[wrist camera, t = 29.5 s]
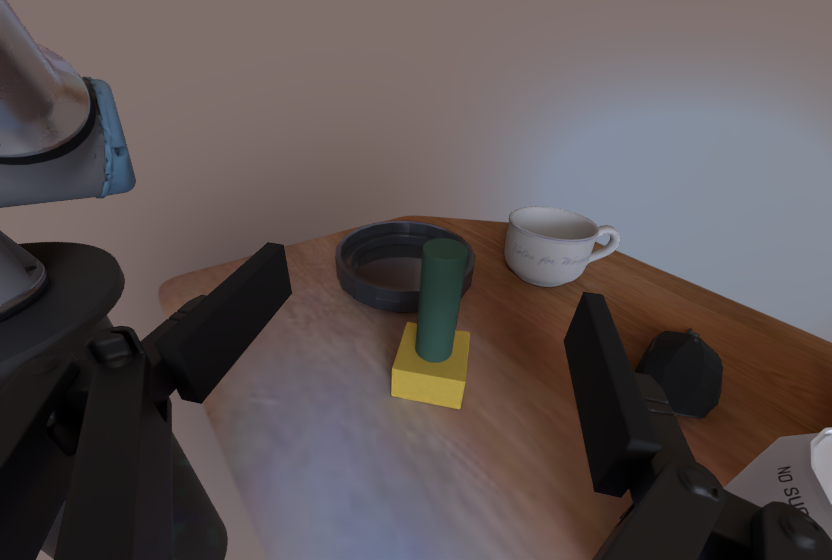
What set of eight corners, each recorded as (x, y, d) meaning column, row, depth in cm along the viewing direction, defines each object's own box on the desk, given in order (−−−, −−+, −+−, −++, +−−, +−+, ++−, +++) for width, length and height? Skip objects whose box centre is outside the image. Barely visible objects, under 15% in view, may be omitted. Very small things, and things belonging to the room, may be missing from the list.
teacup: (495, 287, 46) (507, 230, 41) (500, 248, 54) (511, 197, 50) (612, 310, 43) (639, 252, 38) (598, 264, 52) (619, 213, 47)
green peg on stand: (390, 396, 31) (394, 263, 23) (405, 347, 36) (412, 225, 28) (460, 409, 30) (486, 277, 23) (465, 358, 35) (488, 235, 28)
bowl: (315, 302, 41) (311, 277, 39) (362, 235, 55) (361, 214, 53) (465, 328, 39) (469, 302, 37) (474, 251, 53) (478, 230, 51)
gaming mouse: (723, 344, 39) (744, 316, 37) (704, 437, 29) (730, 407, 27) (659, 318, 42) (674, 290, 40) (623, 394, 33) (641, 363, 30)
